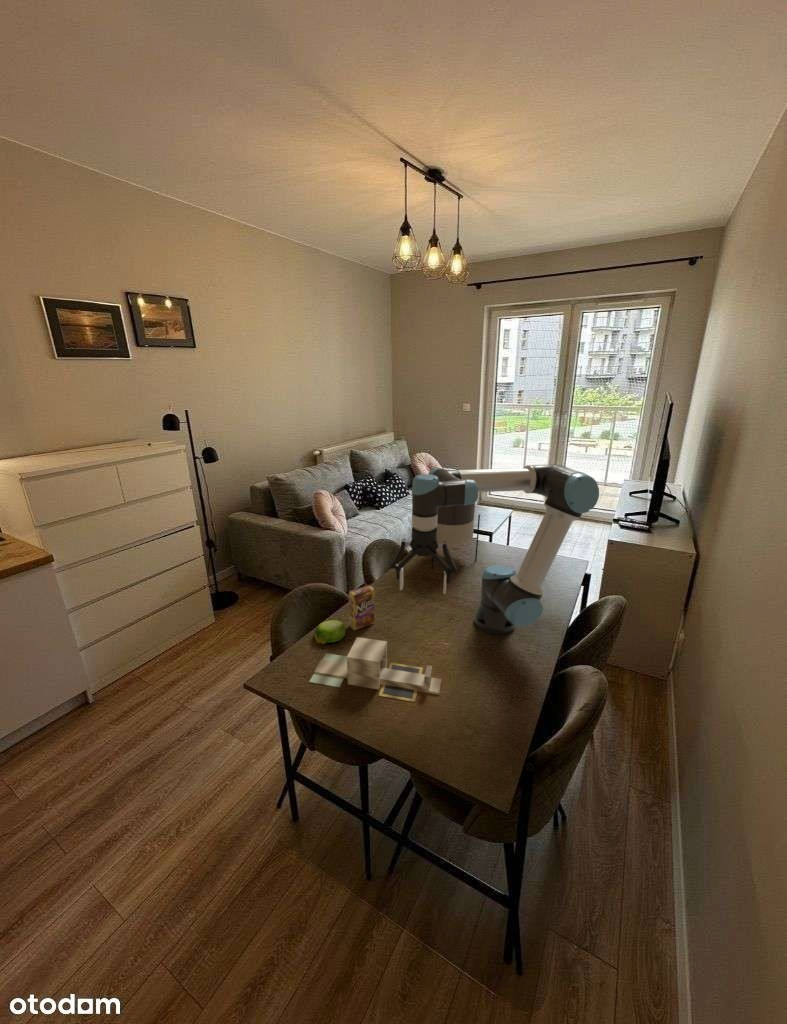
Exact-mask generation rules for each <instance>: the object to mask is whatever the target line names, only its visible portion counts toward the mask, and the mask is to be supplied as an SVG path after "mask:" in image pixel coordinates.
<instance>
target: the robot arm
mask: <svg viewBox="0 0 787 1024" xmlns="http://www.w3.org/2000/svg"><path fill="white" fill-rule="evenodd" d="M411 485H412V486H411V488H412V489H411V498H412V499H411V504H412V505H411V507H412V509H411V526H412V527H411V540H410V541H409V540H407V539H406V538H403V539H402V540H401V542H400V547H399V549H398V551H397V553H396V554H395V556H394V557H393V559H392V562H391V564H390V569H394V570H395V571H396V573H395V575H396V580H399V591H403V589H404V567H405V566H406V565H407V564H408V563H409V562H410V561H411V559H413V558H415V556H418V557H426V558H428V557H431V559H432V558H433V560H435V562H436V563H437V564H438V565H439V566H440V567H441V569H442V570H443V589H442V590H443V591H442V593H443V594H445V595H446V593H447V584H450V583H451V575H452V574H456V573H457V572H458V571H457V570H458V568H457V565H456V563H455V561H454V559H453V557H452V554H451V553H450V551H449V549H448V544H447V542H446V541H444V542H443V543H437V528H436V527H437V516H438V507H448V506H461V505H464V506H465V505H469V504H474V503H475V504H476V502H477V501H478V499H479V493H495V492H496V493H497V492H524V493H525V494H537V495H540V496H543V497H546V499H545V500H544V501H545V502H544V506H545V510H546V511H545V514H544V515H543V518H542V520H541V522H540V524H539V526H538V528H537V530H536V531H535V534H534V536H533V539H532V541H531V543H530V546H529V548H528V549H527V551H526V553H525V556H524V559H523V560H522V563H521V565H520V566H519V570H518V571H517V573H516V569H514V568H513V567H511V566H507V565H500V564H499V565H498V564H495V565H489V566H486V567H485V568H484V569H483V571H482V575H481V590H480V602H479V605H478V606H477V609H476V611H475V613H474V619H473V621H474V624H475V625H476V627H477V628H478V629H480V630H481V631H484V632H485V633H489V634H492V635H504V634H505V633H506V634H508V632H509V633H511V632H512V631H513V630H514V629H515V627H514V626H516V627H523V628H524V627H528V626H530V625H532V624H534V623H535V622H537V621H538V620H539V619H540V618H541V616H542V614H543V611H544V607H543V604H542V602H541V598H542V596H543V595H544V590H543V588H542V585H543V584H544V581H545V579H546V577H547V576H548V573H549V571H550V569H551V567H552V565H553V562H554V561H555V559H556V556H557V555H558V552H559V550H560V548H561V547H562V544H563V542H564V540H565V538H566V536H567V534H568V532H569V530H570V528H571V526H572V524H573V522H574V521H577V520H580V519H581V517H582V514H586V513H588V512H590V511H591V510H593V508H594V507H595V506H596V505H597V503H598V501H599V497H600V488H599V485H598V482H597V481H596V479H595V478H593V477H592V476H591V475H589V474H587V473H585V472H582V471H579V470H575V469H573V468H570V467H567V466H564V465H561V464H527V465H525V466H523V468H494V469H493V468H492V469H491V468H489V469H487V468H485V469H484V468H482V469H450V470H449V469H445V468H441V467H434V468H432V469H431V470H430V471H429V472H428V474H426V473H425V474H424V473H423V474H422V473H421V474H418V475H416V476H414V478H413V479H412V484H411ZM408 547H410V548H411V550H410V551H409V553H408V554H407V555H406V556H405V557H403V559H402V560H400V558H401V557H402V555H403V552H405V549H407V548H408ZM438 548H439V549H440V551H443V555H444V558H445V560H446V561H447V562H446V561H445V560H444V559H443V558H442V557H441V555H440V554H439V552H438V550H437V549H438ZM399 560H400V562H399ZM447 563H448V564H447ZM510 631H511V632H510Z"/></svg>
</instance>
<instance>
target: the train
mask: <svg viewBox="0 0 787 1024" xmlns="http://www.w3.org/2000/svg"><path fill="white" fill-rule="evenodd" d="M388 668H389V667H387V668H381V667H380V681H381V682H387V683H393V684H399V685H405V686H410V687H416V688H422V689H428V690H429V689H430V684H431V679H432V678H433V677H432V676H433V666H432V665H426V669H425V673H424V674H423V673H422V674H418V673H412V672H406V671H400V670H394V669H388Z"/></svg>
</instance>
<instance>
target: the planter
mask: <svg viewBox="0 0 787 1024" xmlns="http://www.w3.org/2000/svg"><path fill="white" fill-rule="evenodd" d="M475 510H476V502H475V503H474V504H469V505H465V506H464V505H461V506H448V507H438V516H437V527H436V528H437V543H443V542H444V541H446V542H447V546H448V545H450V546H451V545H452V546H453V545H462V544H466V543H469V542H470V541H471V540H476V545H475V556H474V558H475V559H474V560H475V561H474V562H477V561H478V560H477V558H478V557H477V556H478V547H479V546H478V545H479V535H480V534H479V532H480V520H481V514H478V517H477V519H478V520H477V529H476V530H477V533H476V537H474V525H475V524H474V522H475ZM431 569H434V559H433V558H432V557H431Z"/></svg>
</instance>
